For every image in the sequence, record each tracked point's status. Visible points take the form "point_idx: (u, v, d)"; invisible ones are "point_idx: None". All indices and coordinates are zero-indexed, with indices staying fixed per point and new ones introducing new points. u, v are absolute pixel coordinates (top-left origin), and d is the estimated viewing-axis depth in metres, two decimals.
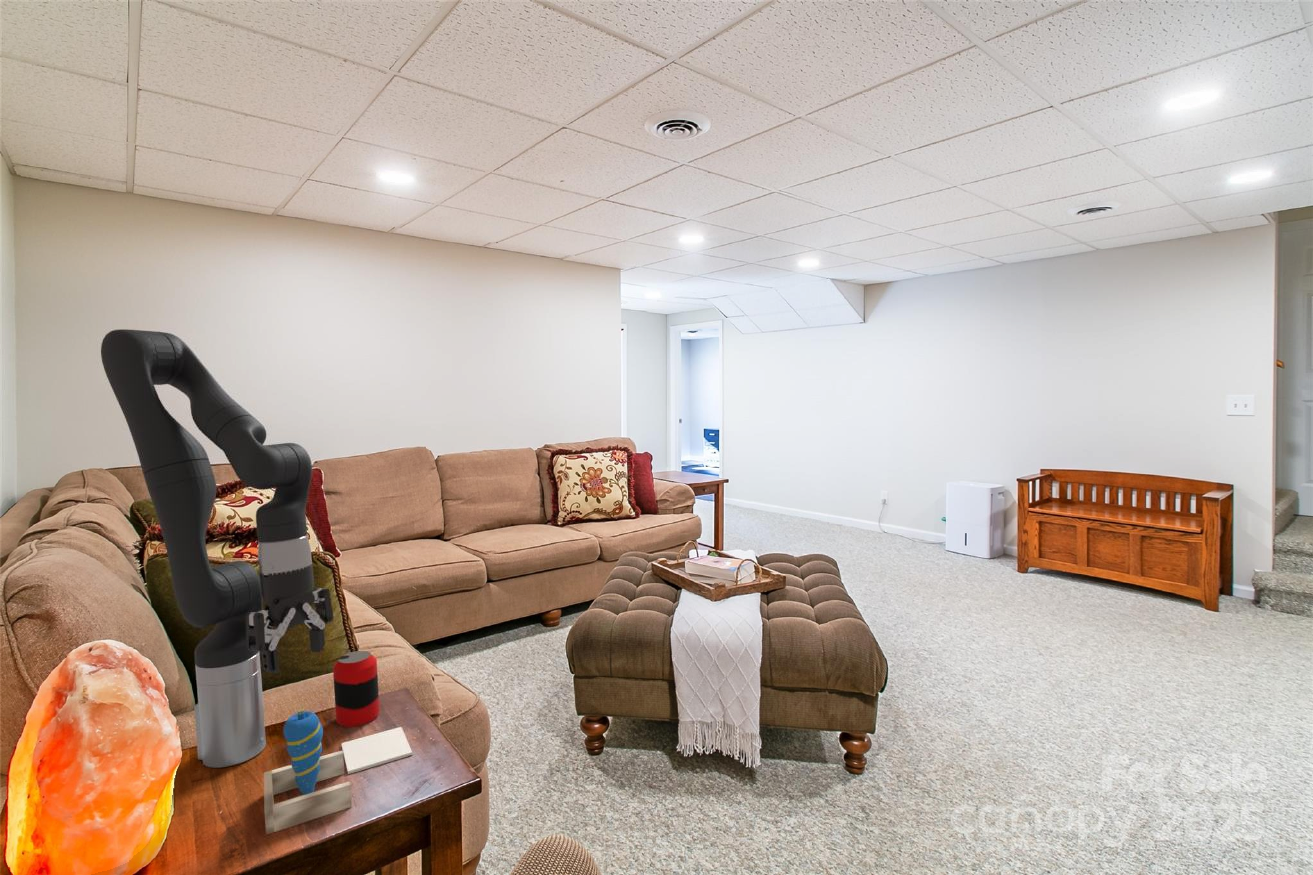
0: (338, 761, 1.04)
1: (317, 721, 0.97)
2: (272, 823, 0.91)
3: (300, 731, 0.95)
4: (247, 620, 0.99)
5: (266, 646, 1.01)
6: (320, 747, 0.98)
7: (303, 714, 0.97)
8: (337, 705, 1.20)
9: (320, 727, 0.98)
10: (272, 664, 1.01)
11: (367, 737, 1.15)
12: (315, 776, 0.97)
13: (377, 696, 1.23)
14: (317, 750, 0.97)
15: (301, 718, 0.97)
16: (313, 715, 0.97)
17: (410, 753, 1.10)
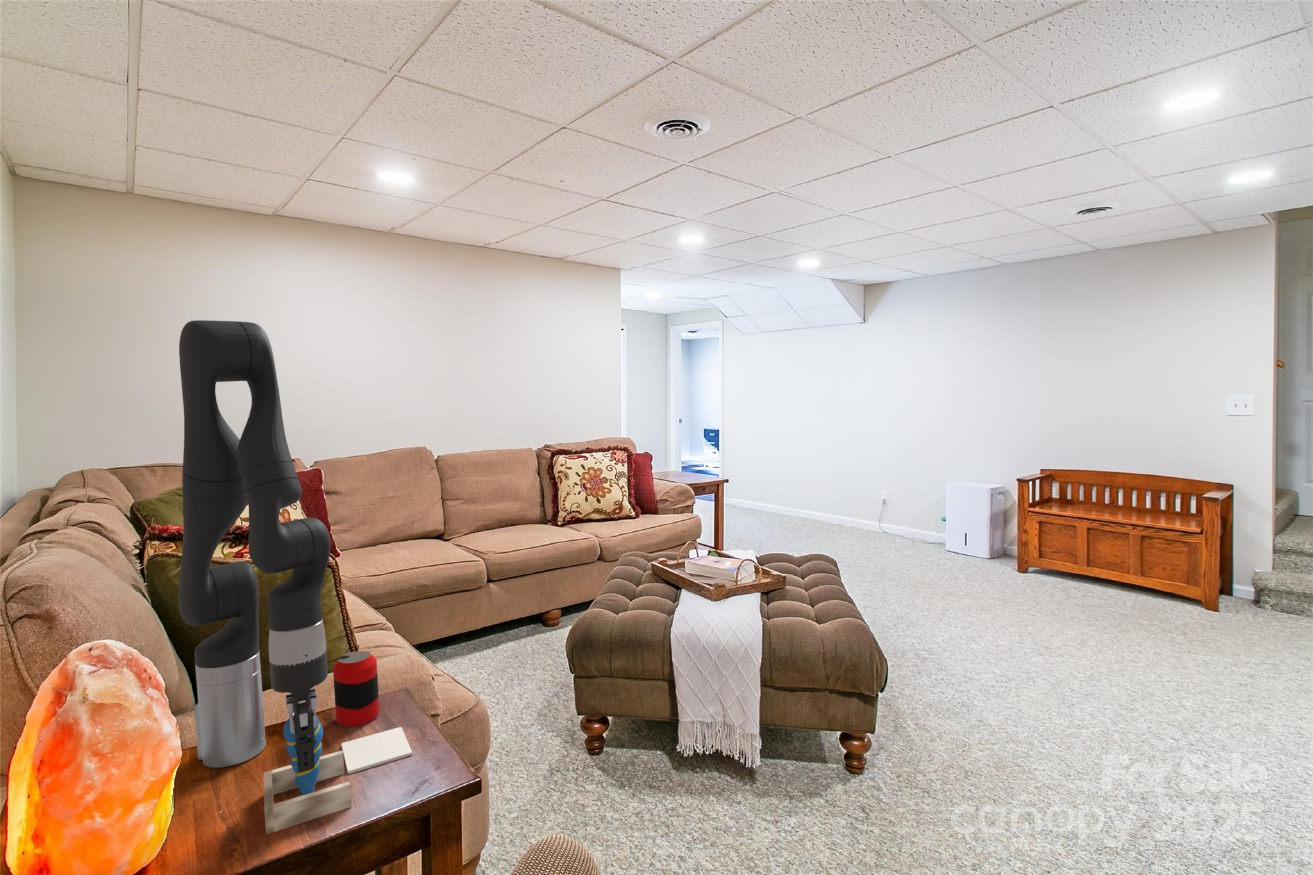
0: (338, 761, 1.04)
1: (317, 721, 0.97)
2: (272, 823, 0.91)
3: None
4: None
5: None
6: (320, 747, 0.98)
7: None
8: (337, 705, 1.20)
9: (320, 727, 0.98)
10: None
11: (367, 737, 1.15)
12: (315, 776, 0.97)
13: (377, 696, 1.23)
14: (317, 750, 0.97)
15: None
16: None
17: (410, 753, 1.10)
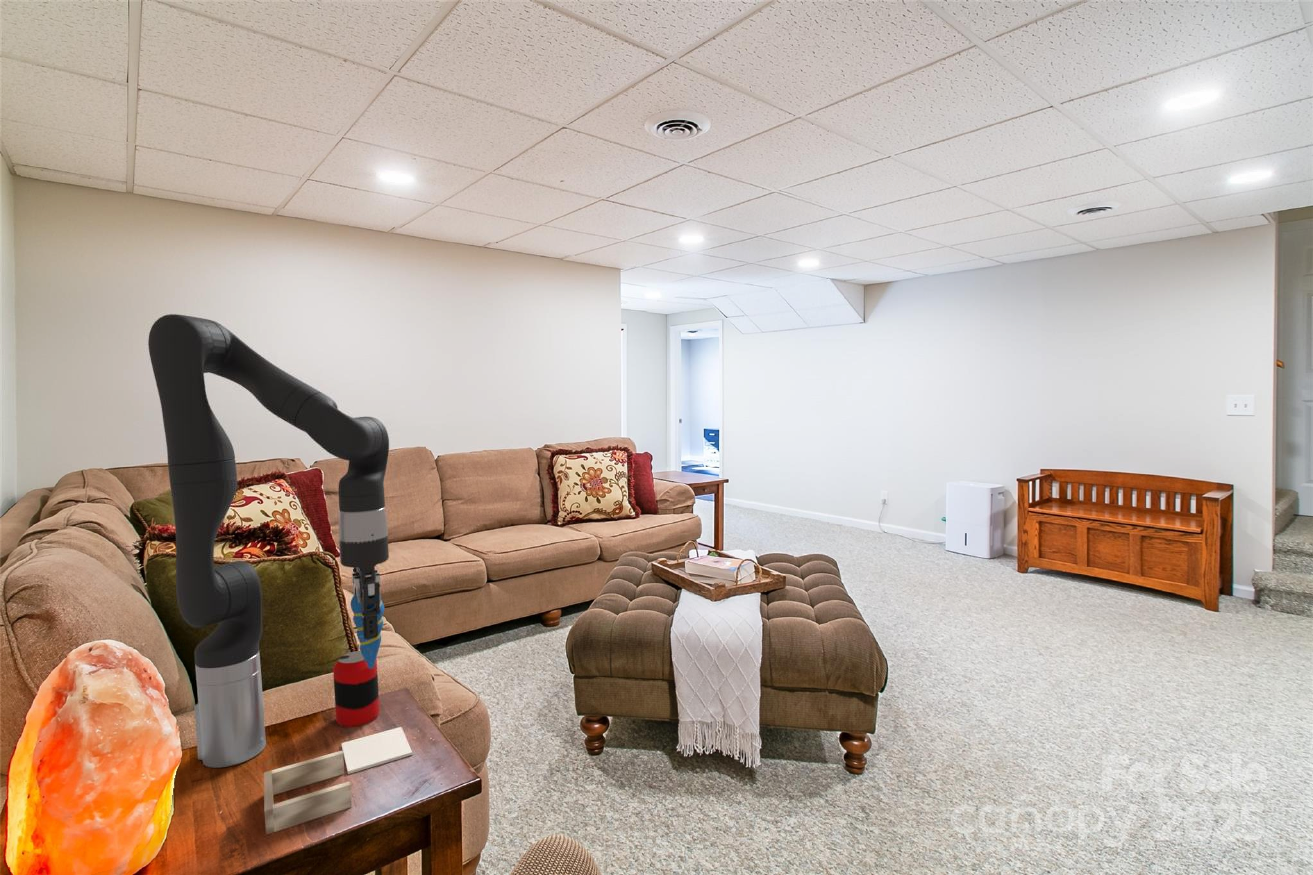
0: (338, 761, 1.04)
1: (380, 597, 1.09)
2: (272, 823, 0.91)
3: None
4: None
5: None
6: (382, 621, 1.10)
7: None
8: (337, 705, 1.20)
9: (382, 603, 1.10)
10: None
11: (367, 737, 1.15)
12: (377, 646, 1.10)
13: (377, 696, 1.23)
14: (379, 623, 1.09)
15: None
16: None
17: (410, 753, 1.10)
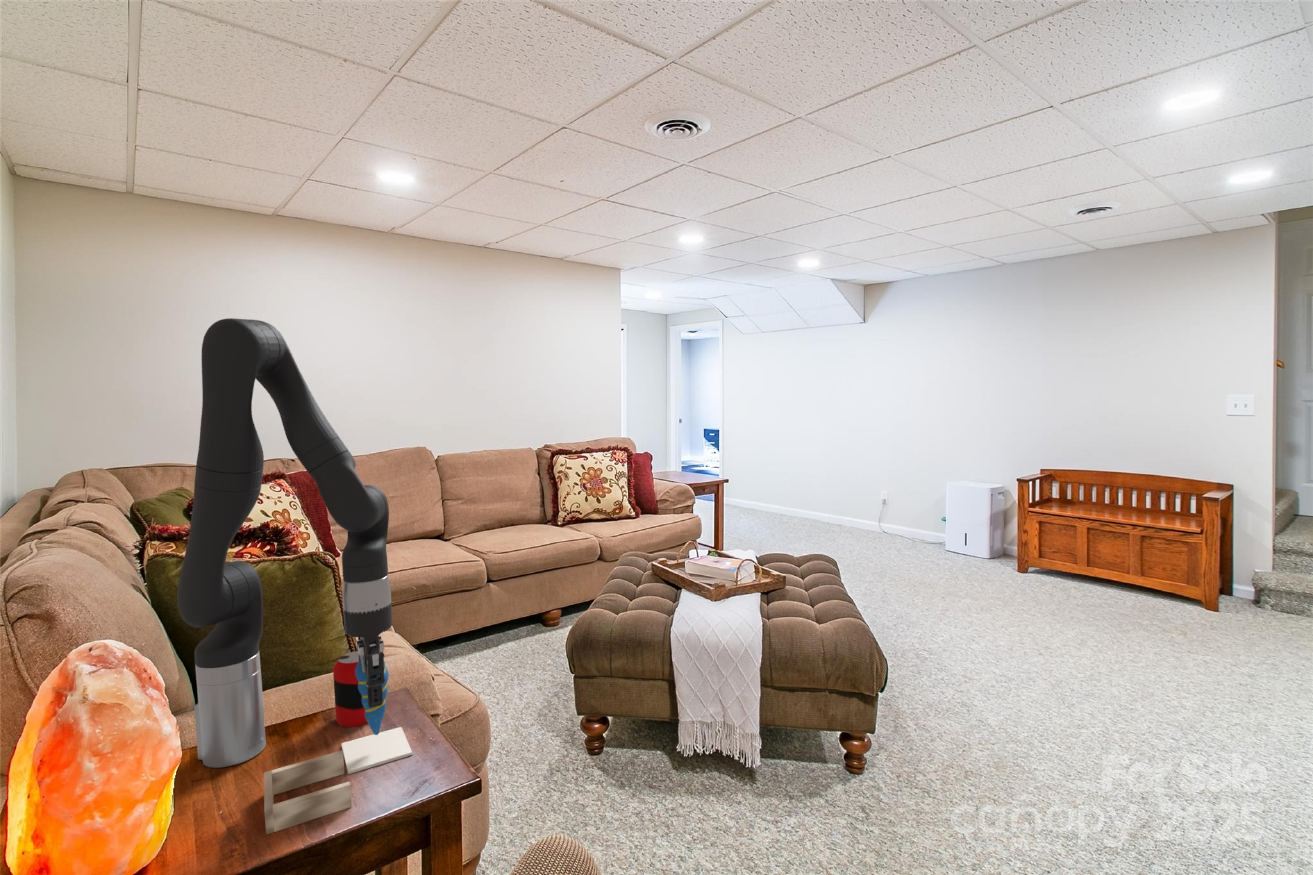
0: (338, 761, 1.04)
1: (384, 664, 1.10)
2: (272, 823, 0.91)
3: None
4: None
5: None
6: (386, 687, 1.11)
7: None
8: (337, 705, 1.20)
9: (386, 670, 1.11)
10: None
11: (367, 737, 1.15)
12: (382, 713, 1.10)
13: None
14: (384, 690, 1.10)
15: None
16: None
17: (410, 753, 1.10)
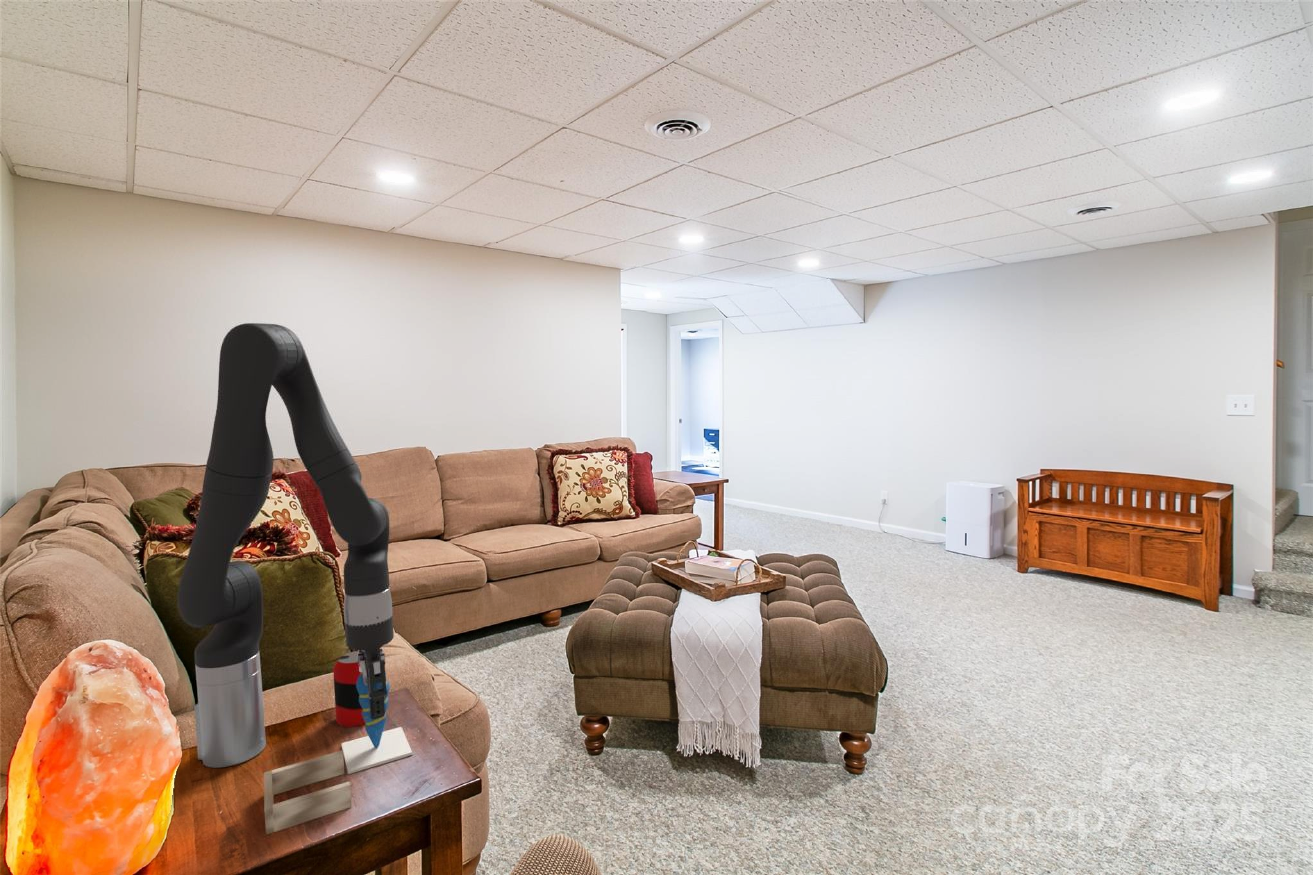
0: (338, 761, 1.04)
1: None
2: (272, 823, 0.91)
3: None
4: None
5: None
6: (387, 700, 1.11)
7: None
8: (337, 705, 1.20)
9: (387, 683, 1.12)
10: None
11: (367, 737, 1.15)
12: (383, 726, 1.11)
13: None
14: (385, 703, 1.11)
15: None
16: None
17: (410, 753, 1.10)
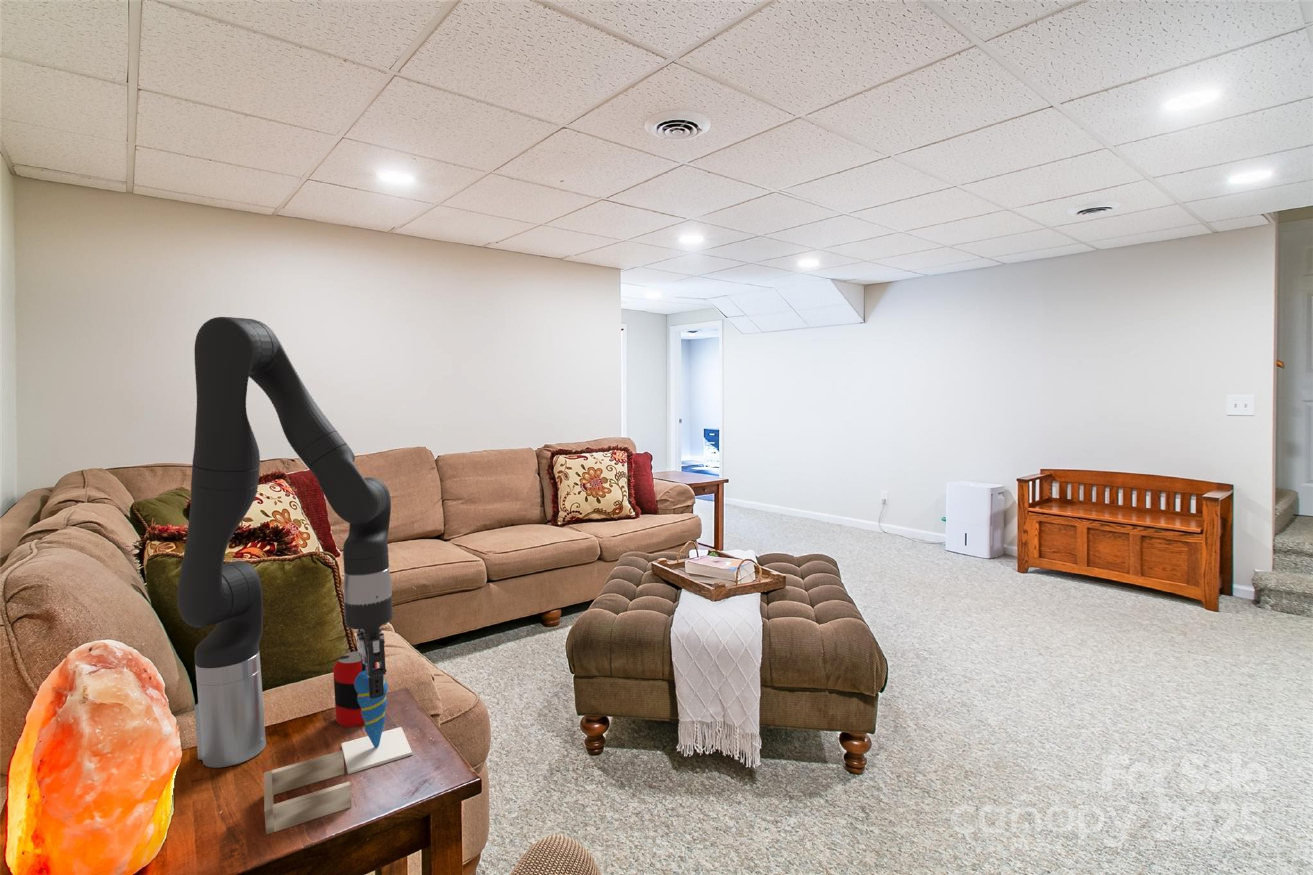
0: (338, 761, 1.04)
1: (383, 676, 1.11)
2: (272, 823, 0.91)
3: None
4: None
5: None
6: (385, 699, 1.12)
7: None
8: (337, 705, 1.20)
9: (385, 682, 1.12)
10: None
11: (367, 737, 1.15)
12: (382, 725, 1.11)
13: None
14: (383, 702, 1.11)
15: None
16: None
17: (410, 753, 1.10)
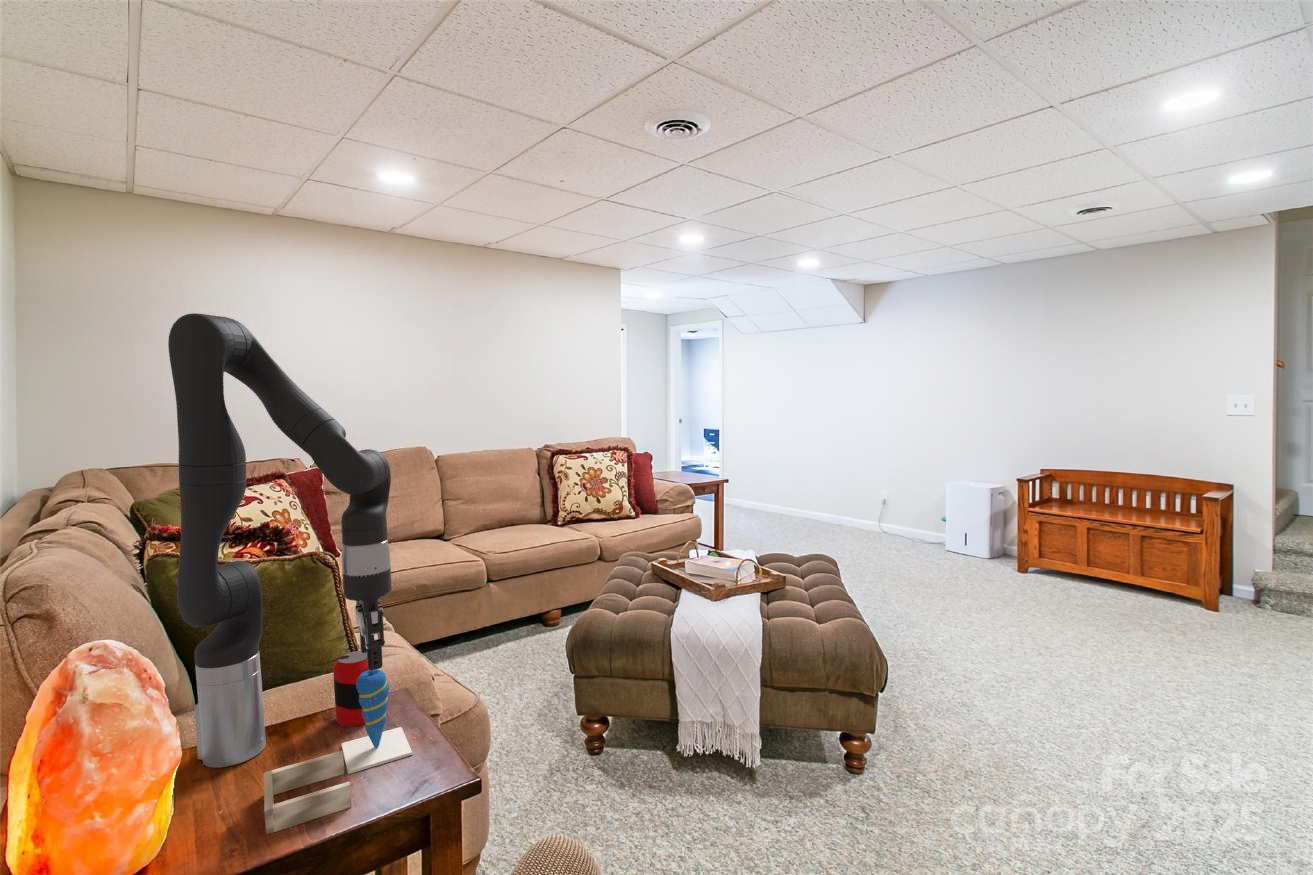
0: (338, 761, 1.04)
1: (385, 677, 1.11)
2: (272, 823, 0.91)
3: (371, 685, 1.08)
4: None
5: None
6: (387, 700, 1.11)
7: (373, 671, 1.10)
8: (337, 705, 1.20)
9: (387, 683, 1.12)
10: None
11: (367, 737, 1.15)
12: (383, 726, 1.11)
13: None
14: (385, 703, 1.11)
15: (371, 674, 1.10)
16: (381, 672, 1.11)
17: (410, 753, 1.10)
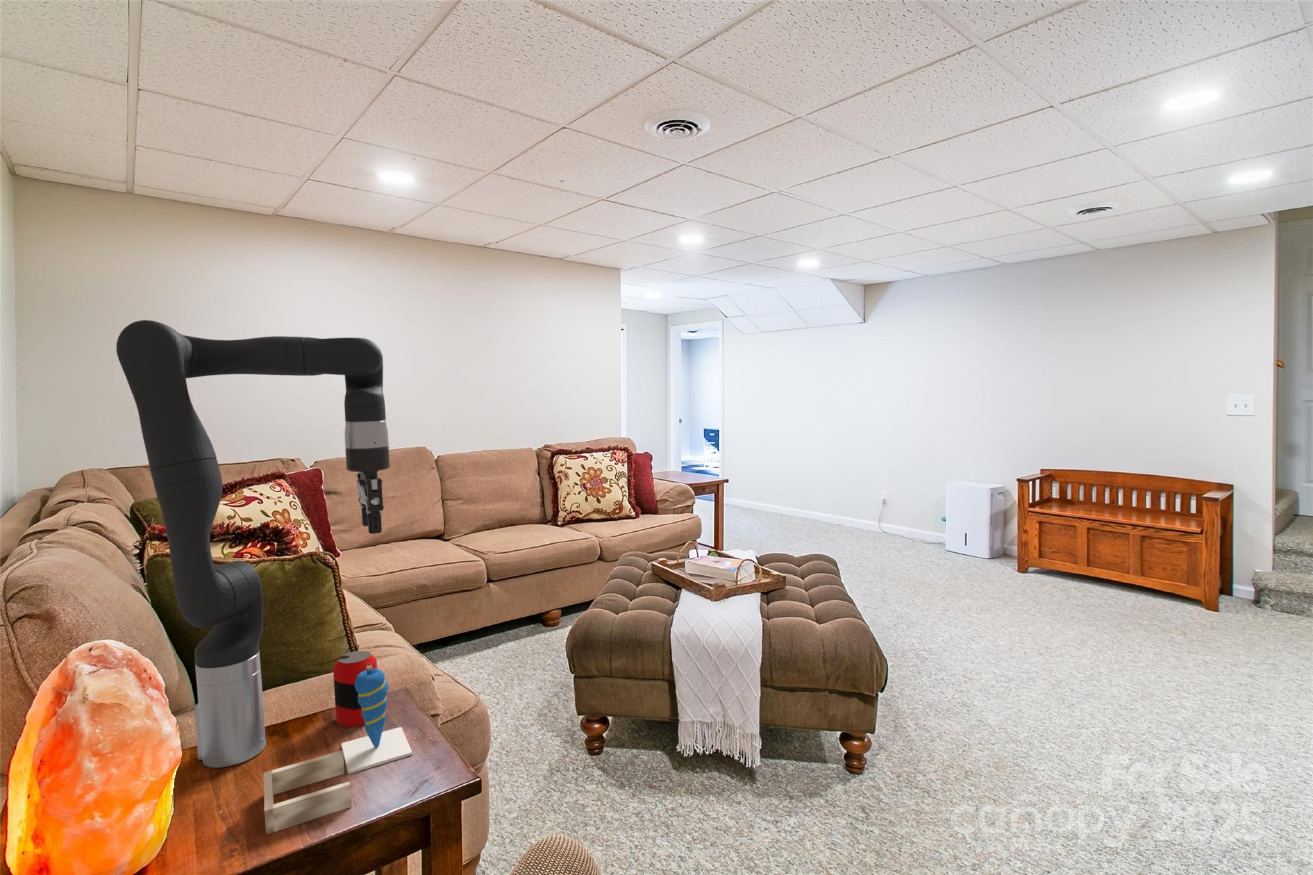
0: (338, 761, 1.04)
1: (383, 676, 1.11)
2: (272, 823, 0.91)
3: (370, 684, 1.09)
4: None
5: None
6: (386, 699, 1.12)
7: (371, 670, 1.11)
8: (337, 705, 1.20)
9: (385, 682, 1.12)
10: None
11: (367, 737, 1.15)
12: (382, 725, 1.11)
13: None
14: (384, 702, 1.11)
15: (370, 674, 1.11)
16: (380, 671, 1.11)
17: (410, 753, 1.10)
